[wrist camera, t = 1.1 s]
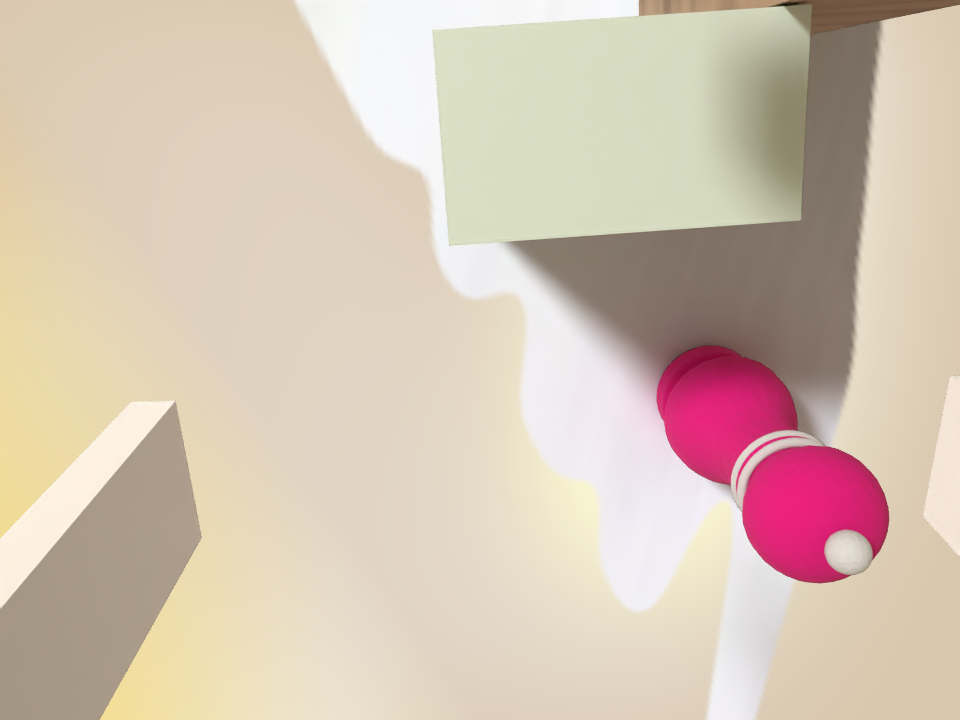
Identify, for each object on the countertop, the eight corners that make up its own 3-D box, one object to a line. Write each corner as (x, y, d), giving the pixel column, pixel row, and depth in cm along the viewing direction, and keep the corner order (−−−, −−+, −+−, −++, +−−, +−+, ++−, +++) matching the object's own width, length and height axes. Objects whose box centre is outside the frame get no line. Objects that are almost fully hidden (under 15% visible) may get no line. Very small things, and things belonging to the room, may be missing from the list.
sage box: (439, 63, 45) (432, 30, 26) (657, 48, 45) (812, 4, 26) (449, 189, 47) (449, 245, 28) (657, 174, 47) (800, 220, 28)
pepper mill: (748, 321, 50) (934, 455, 31) (774, 425, 52) (963, 611, 33) (634, 359, 50) (748, 514, 31) (664, 460, 52) (788, 664, 33)
